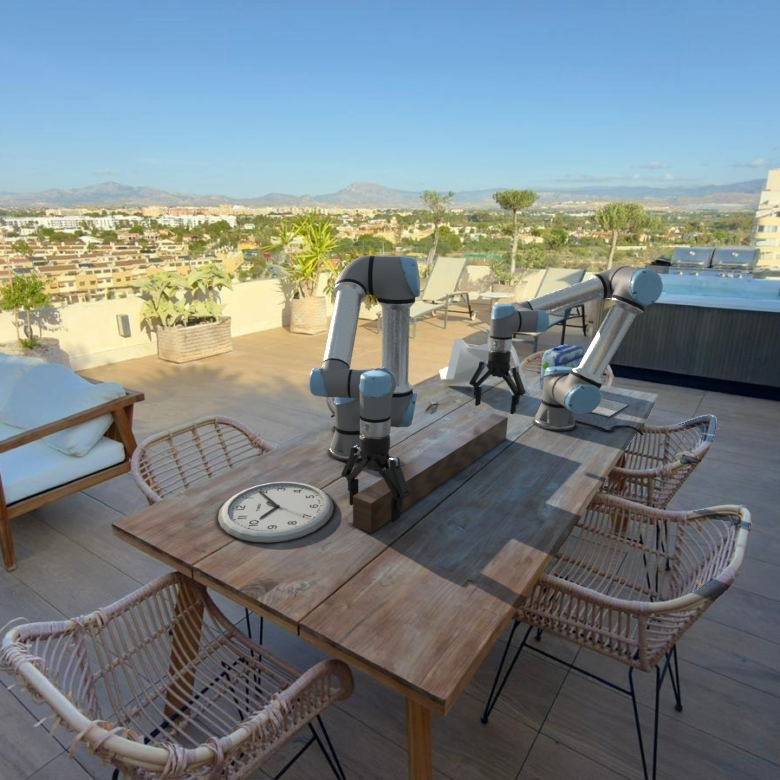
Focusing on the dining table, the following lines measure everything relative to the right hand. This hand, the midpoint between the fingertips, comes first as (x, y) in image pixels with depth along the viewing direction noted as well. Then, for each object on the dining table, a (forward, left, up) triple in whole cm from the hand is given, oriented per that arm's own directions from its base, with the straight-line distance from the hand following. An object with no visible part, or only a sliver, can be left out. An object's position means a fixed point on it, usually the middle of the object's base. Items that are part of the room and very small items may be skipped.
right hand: (495, 408), depth 184 cm
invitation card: (-49, -46, -12) cm, 69 cm away
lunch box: (-36, -70, -12) cm, 80 cm away
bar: (+17, +30, -12) cm, 36 cm away
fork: (+24, -34, -12) cm, 43 cm away
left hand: (+34, +60, -9) cm, 69 cm away
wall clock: (+61, +58, -12) cm, 85 cm away
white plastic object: (+2, -58, -12) cm, 59 cm away
